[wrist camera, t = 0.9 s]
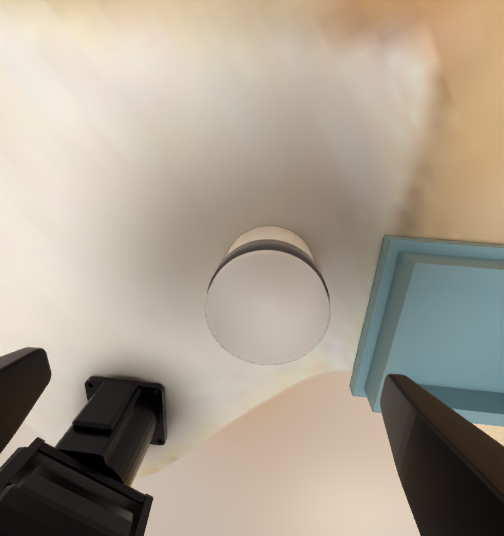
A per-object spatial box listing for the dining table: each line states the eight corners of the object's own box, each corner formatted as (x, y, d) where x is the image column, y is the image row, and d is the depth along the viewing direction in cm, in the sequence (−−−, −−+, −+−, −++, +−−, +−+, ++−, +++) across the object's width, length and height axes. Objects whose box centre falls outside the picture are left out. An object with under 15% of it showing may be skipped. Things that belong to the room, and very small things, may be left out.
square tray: (510, 403, 21) (546, 439, 19) (349, 386, 22) (360, 418, 19) (587, 251, 17) (648, 268, 14) (384, 235, 18) (405, 248, 15)
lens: (308, 314, 20) (321, 372, 15) (222, 305, 20) (202, 360, 15) (322, 228, 18) (343, 258, 12) (225, 220, 18) (202, 246, 13)
